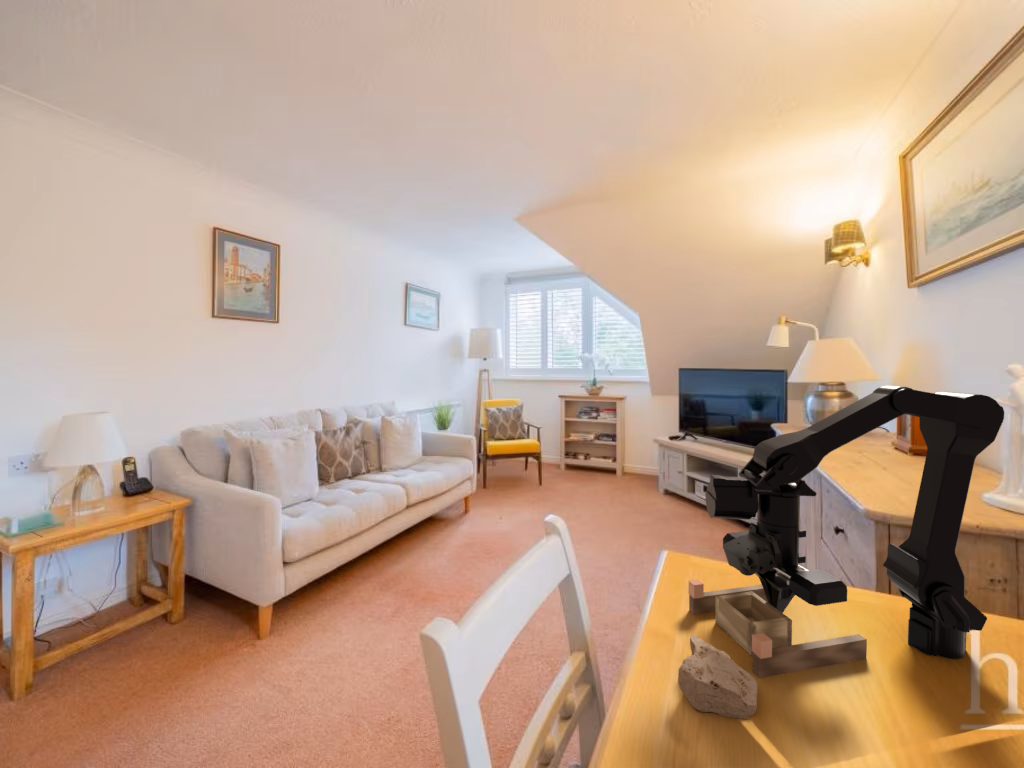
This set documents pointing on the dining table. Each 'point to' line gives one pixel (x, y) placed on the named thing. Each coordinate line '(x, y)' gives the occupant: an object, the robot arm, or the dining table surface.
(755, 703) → the stone
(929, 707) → the dining table surface
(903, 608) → the dining table surface
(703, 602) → the bay
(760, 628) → the box
